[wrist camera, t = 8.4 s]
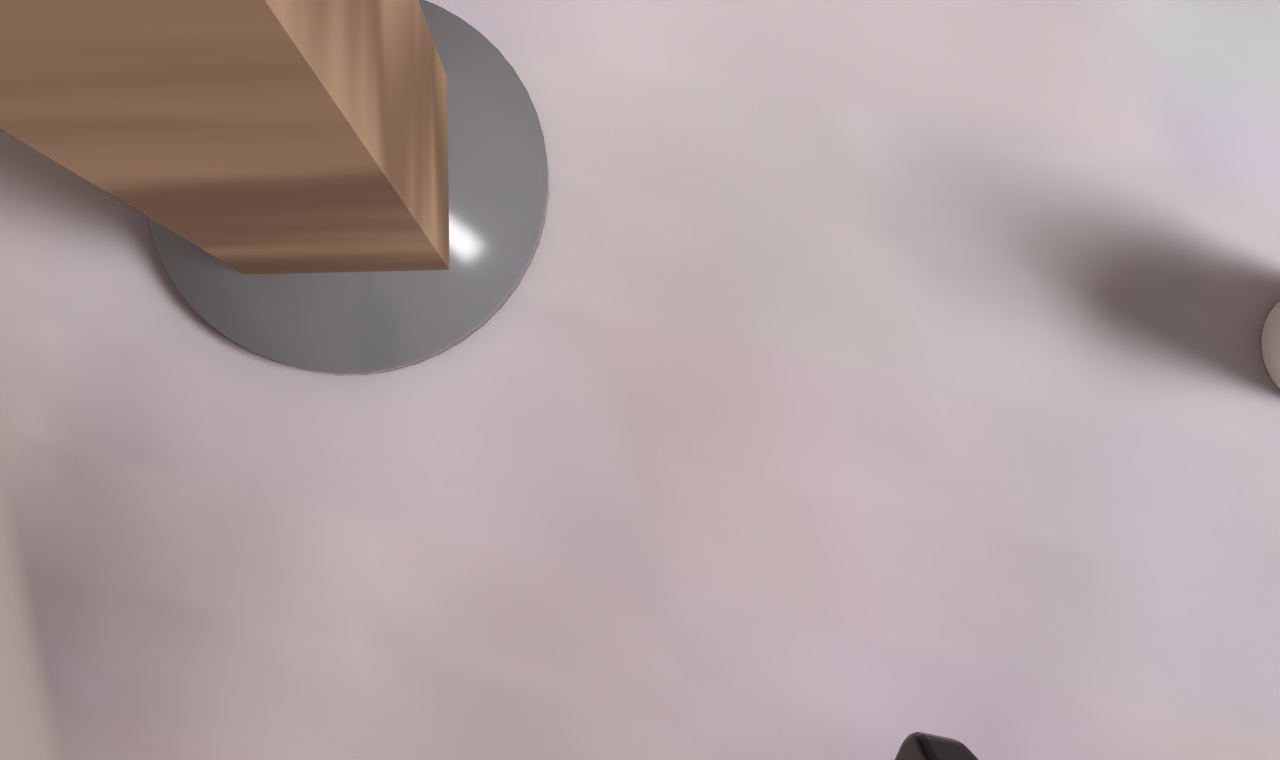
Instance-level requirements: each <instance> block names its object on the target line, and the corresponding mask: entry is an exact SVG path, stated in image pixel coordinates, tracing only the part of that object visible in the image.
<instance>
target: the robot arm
mask: <svg viewBox="0 0 1280 760" xmlns="http://www.w3.org/2000/svg"><path fill="white" fill-rule="evenodd" d="M895 760H978V758H977V757H976V756H975V755H974V754H973V753H972V752H971V751H970V750H969V749H968V748H967V747H966V746H965V745H964V744H963V743H961V742H959V741H957V740H954V739H951V738H946V737H941V736H936V735H932V734H927V733H922V732H915V733H912V734H910V735H909V736H908V737H907V738H906V739H905V740H904V742H903V743H902V745H901V747H900V750H899V752H898V754H897V756H896V758H895Z"/></svg>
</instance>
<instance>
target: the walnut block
mask: <svg viewBox="0 0 1280 760" xmlns="http://www.w3.org/2000/svg"><path fill="white" fill-rule="evenodd" d="M0 129H1V130H2V131H4V132H6V133H7V134H9V135H11V136H12V137H14V138H16V139H17V140H19V141H21V142H22V143H24V144H26V145H27V146H29V147H31V148H33V149H34V150H36V151H38V152H39V153H41V154H43V155H44V156H46V157H48V158H49V159H51V160H53V161H54V162H56V163H58V164H59V165H61V166H63V167H65V168H66V169H68V170H70V171H71V172H73V173H75V174H76V175H78V176H80V177H81V178H83V179H85V180H86V181H88V182H90V183H92V184H93V185H95V186H97V187H98V188H100V189H102V190H103V191H105V192H107V193H108V194H110V195H112V196H113V197H115V198H117V199H118V200H120V201H122V202H124V203H125V204H127V205H129V206H130V207H132V208H134V209H135V210H137V211H139V212H140V213H142V214H144V215H145V216H147V217H149V218H150V219H152V220H154V221H156V222H157V223H159V224H161V225H162V226H164V227H166V228H167V229H169V230H171V231H172V232H174V233H176V234H177V235H179V236H181V237H182V238H184V239H186V240H188V241H189V242H191V243H193V244H194V245H196V246H198V247H199V248H201V249H203V250H204V251H206V252H208V253H209V254H211V255H213V256H214V257H216V258H218V259H220V260H221V261H223V262H225V263H226V264H228V265H230V266H231V267H233V268H235V269H236V270H238V271H240V272H241V273H243V274H245V275H254V274H296V273H338V272H380V271H422V270H450V262H449V188H448V114H447V76H446V74H445V71H444V68H443V66H442V63H441V60H440V57H439V55H438V52H437V49H436V46H435V44H434V41H433V38H432V36H431V33H430V30H429V27H428V25H427V22H426V19H425V17H424V14H423V11H422V8H421V6H420V3H419V0H0Z"/></svg>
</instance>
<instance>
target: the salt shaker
mask: <svg viewBox="0 0 1280 760" xmlns="http://www.w3.org/2000/svg"><path fill="white" fill-rule="evenodd" d="M1261 348H1262V355H1263V360H1264V363H1265V366H1266V369H1267V371H1268V373H1269V375H1270V377H1271V378H1272V380H1273V381H1274V383H1275V384H1276V385H1277V387H1278V388H1279V389H1280V301H1279V302H1278V303H1277V304H1276V305H1275V306H1274V307H1273V308H1272V310H1271V311H1270V313H1269V315H1268V317H1267V319H1266V321H1265V324H1264V327H1263V331H1262V338H1261Z"/></svg>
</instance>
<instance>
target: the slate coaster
mask: <svg viewBox="0 0 1280 760" xmlns="http://www.w3.org/2000/svg"><path fill="white" fill-rule="evenodd" d="M419 3H420V6H421V8H422V11H423V14H424V17H425V19H426V22H427V25H428V27H429V30H430V33H431V36H432V38H433V41H434V44H435V46H436V49H437V52H438V55H439V57H440V60H441V63H442V66H443V68H444V71H445V74H446V76H447V114H448V188H449V262H450V270H422V271H380V272H338V273H296V274H254V275H245V274H243V273H241V272H240V271H238V270H236V269H235V268H233V267H231V266H230V265H228V264H226V263H225V262H223V261H221V260H220V259H218V258H216V257H214V256H213V255H211V254H209V253H208V252H206V251H204V250H203V249H201V248H199V247H198V246H196V245H194V244H193V243H191V242H189V241H188V240H186V239H184V238H182V237H181V236H179V235H177V234H176V233H174V232H172V231H171V230H169V229H167V228H166V227H164V226H162V225H161V224H159V223H157V222H156V221H154V220H152V219H150V218H149V217H147V220H148V224H149V228H150V232H151V236H152V240H153V242H154V245H155V247H156V250H157V252H158V255H159V257H160V260H161V262H162V264H163V266H164V268H165V269H166V271H167V273H168V275H169V276H170V278H171V280H172V282H173V283H174V285H175V286H176V288H177V289H178V290H179V292H180V293H181V294H182V295H183V297H184V298H185V299H186V301H187V302H188V303H189V305H190V306H191V307H192V308H193V309H194V310H195V311H196V312H197V313H198V314H199V315H200V316H201V317H202V318H203V319H204V320H205V321H206V322H208V323H209V324H210V325H211V326H212V327H214V328H215V329H216V330H218V331H219V332H220V333H222V334H223V335H224V336H226V337H227V338H228V339H230V340H232V341H233V342H235V343H237V344H239V345H241V346H242V347H244V348H246V349H248V350H250V351H251V352H253V353H256V354H258V355H261V356H263V357H266V358H268V359H271V360H273V361H276V362H278V363H281V364H284V365H286V366H290V367H294V368H298V369H302V370H306V371H310V372H316V373H324V374H333V375H367V374H374V373H381V372H388V371H393V370H397V369H400V368H404V367H408V366H411V365H415V364H418V363H420V362H422V361H425V360H427V359H430V358H432V357H434V356H437V355H439V354H441V353H443V352H445V351H446V350H448V349H450V348H452V347H453V346H455V345H457V344H458V343H460V342H462V341H463V340H465V339H466V338H467V337H469V336H470V335H471V334H473V333H474V332H475V331H477V330H478V329H479V328H480V327H482V326H483V325H484V324H485V323H486V322H487V321H488V320H489V319H490V318H491V317H492V316H493V315H494V314H495V313H496V312H497V311H498V310H499V309H500V308H501V307H502V306H503V305H504V303H505V302H506V301H507V300H508V298H509V297H510V296H511V294H512V293H513V292H514V290H515V289H516V288H517V286H518V285H519V283H520V281H521V279H522V278H523V276H524V274H525V273H526V271H527V269H528V267H529V266H530V263H531V261H532V259H533V256H534V254H535V251H536V249H537V247H538V244H539V241H540V238H541V234H542V230H543V226H544V223H545V219H546V211H547V203H548V195H549V184H548V164H547V157H546V150H545V144H544V137H543V133H542V130H541V126H540V123H539V119H538V116H537V113H536V110H535V108H534V106H533V104H532V101H531V99H530V97H529V94H528V92H527V90H526V88H525V87H524V85H523V83H522V82H521V80H520V79H519V77H518V75H517V74H516V72H515V70H514V69H513V68H512V66H511V65H510V64H509V63H508V61H507V60H506V59H505V58H504V56H503V55H502V54H501V53H500V51H499V50H498V49H497V48H496V47H495V46H494V45H493V44H492V43H491V42H489V41H488V40H487V39H486V38H485V37H484V36H483V35H482V34H481V33H480V32H479V31H477V30H476V29H475V28H473V27H472V26H470V25H469V24H468V23H466V22H465V21H464V20H462V19H461V18H459V17H458V16H456V15H454V14H452V13H450V12H449V11H447V10H445V9H443V8H441V7H439V6H438V5H435V4H433V3H430V2H428V1H425V0H419Z"/></svg>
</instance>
